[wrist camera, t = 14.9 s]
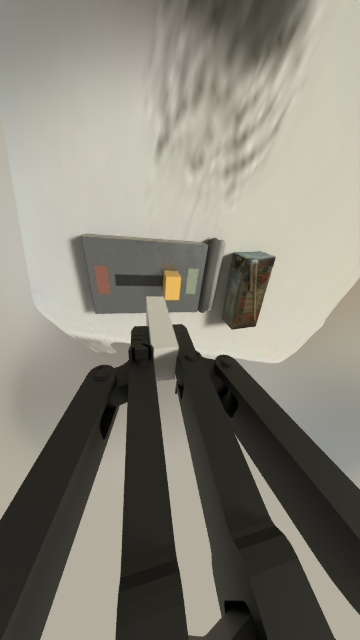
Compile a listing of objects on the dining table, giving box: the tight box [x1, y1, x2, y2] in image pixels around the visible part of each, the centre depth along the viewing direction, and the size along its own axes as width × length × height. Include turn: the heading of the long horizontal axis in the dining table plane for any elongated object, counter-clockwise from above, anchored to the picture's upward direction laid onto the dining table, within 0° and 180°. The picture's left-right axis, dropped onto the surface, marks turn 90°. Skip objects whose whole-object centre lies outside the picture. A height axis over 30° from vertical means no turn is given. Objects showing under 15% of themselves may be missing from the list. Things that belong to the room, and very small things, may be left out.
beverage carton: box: [223, 251, 276, 329], centre depth 45 cm, size 8×19×7 cm, turn 0°
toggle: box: [163, 270, 181, 300], centre depth 37 cm, size 5×3×4 cm, turn 175°
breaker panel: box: [81, 234, 208, 314], centre depth 39 cm, size 16×24×3 cm, turn 85°
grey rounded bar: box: [198, 238, 225, 313], centre depth 43 cm, size 18×4×2 cm, turn 175°
